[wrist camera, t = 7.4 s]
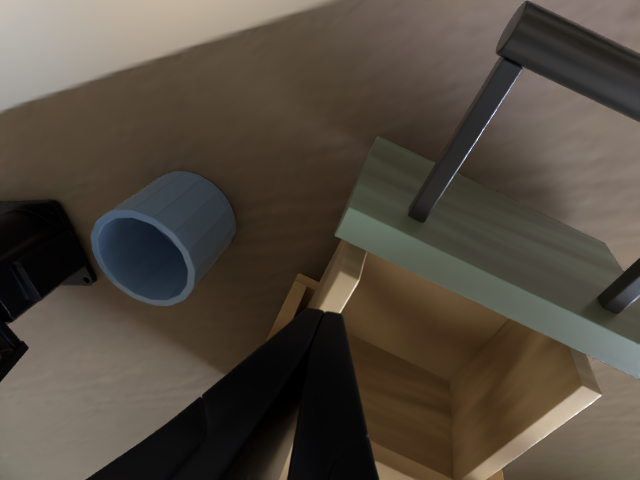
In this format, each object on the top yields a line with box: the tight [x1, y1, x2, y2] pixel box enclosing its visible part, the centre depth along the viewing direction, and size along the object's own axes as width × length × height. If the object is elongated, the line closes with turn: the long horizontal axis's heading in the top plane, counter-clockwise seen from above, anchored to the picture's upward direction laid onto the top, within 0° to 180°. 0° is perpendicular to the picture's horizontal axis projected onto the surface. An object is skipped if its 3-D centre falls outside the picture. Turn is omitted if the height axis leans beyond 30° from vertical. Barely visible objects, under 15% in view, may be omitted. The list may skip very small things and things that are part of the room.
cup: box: [91, 171, 236, 306], centre depth 22 cm, size 6×6×5 cm
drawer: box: [306, 1, 640, 480], centre depth 17 cm, size 18×11×7 cm, turn 159°
